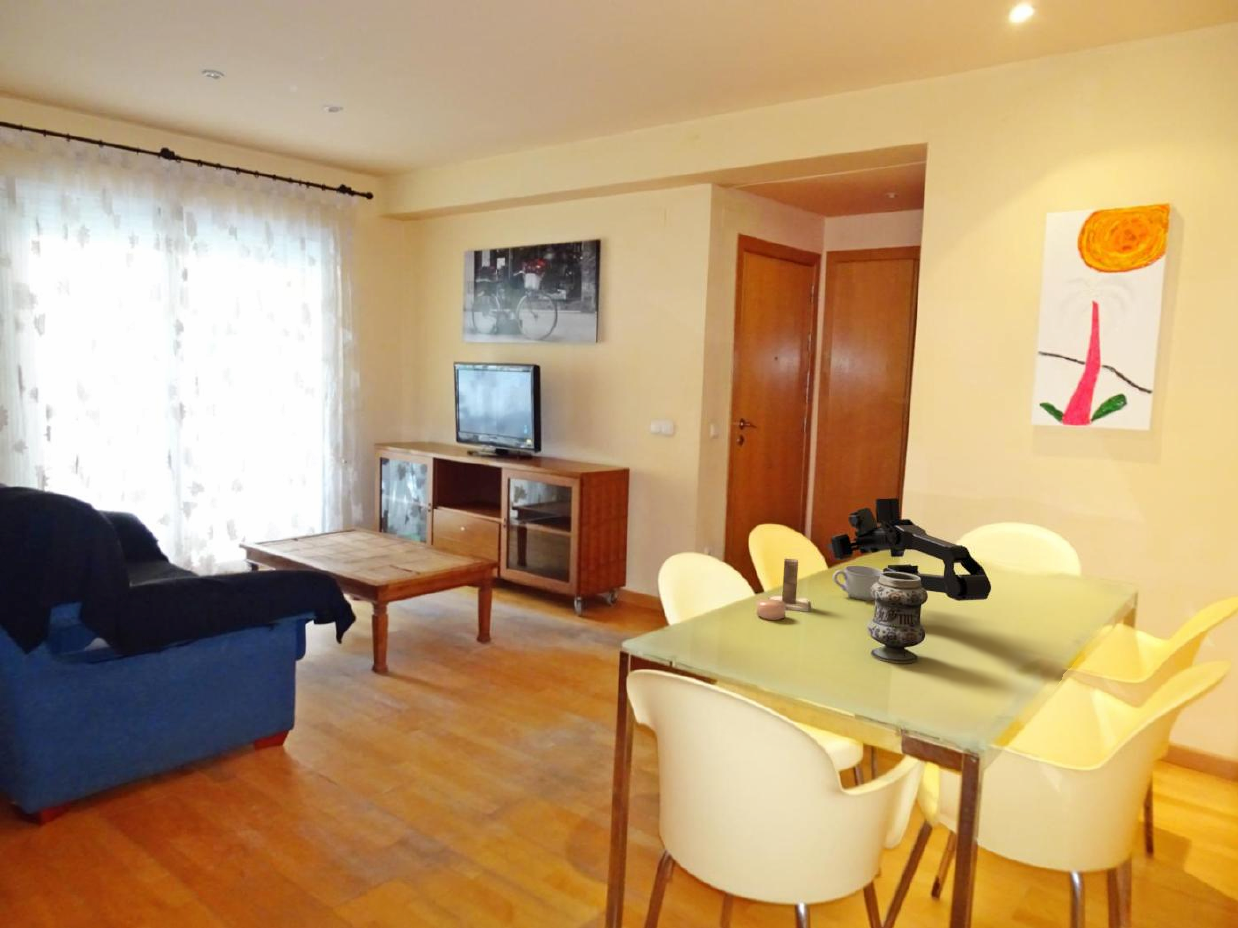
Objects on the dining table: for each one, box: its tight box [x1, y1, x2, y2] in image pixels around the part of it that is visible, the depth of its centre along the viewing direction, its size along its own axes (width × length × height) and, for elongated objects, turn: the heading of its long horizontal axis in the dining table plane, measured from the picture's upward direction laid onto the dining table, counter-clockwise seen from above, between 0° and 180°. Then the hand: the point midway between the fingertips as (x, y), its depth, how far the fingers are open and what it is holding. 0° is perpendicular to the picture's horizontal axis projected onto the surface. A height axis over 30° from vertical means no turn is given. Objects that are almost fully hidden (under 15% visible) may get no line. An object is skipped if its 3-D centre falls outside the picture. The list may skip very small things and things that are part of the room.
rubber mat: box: [767, 597, 811, 613], centre depth 228 cm, size 11×11×1 cm
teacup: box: [832, 564, 883, 602], centre depth 240 cm, size 14×11×8 cm
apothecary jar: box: [866, 572, 929, 665], centre depth 189 cm, size 12×12×18 cm
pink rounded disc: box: [756, 598, 787, 621], centre depth 216 cm, size 7×7×4 cm
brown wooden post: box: [769, 558, 809, 612], centre depth 228 cm, size 10×10×12 cm
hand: (841, 543), depth 238 cm, fingers open, 9 cm apart
